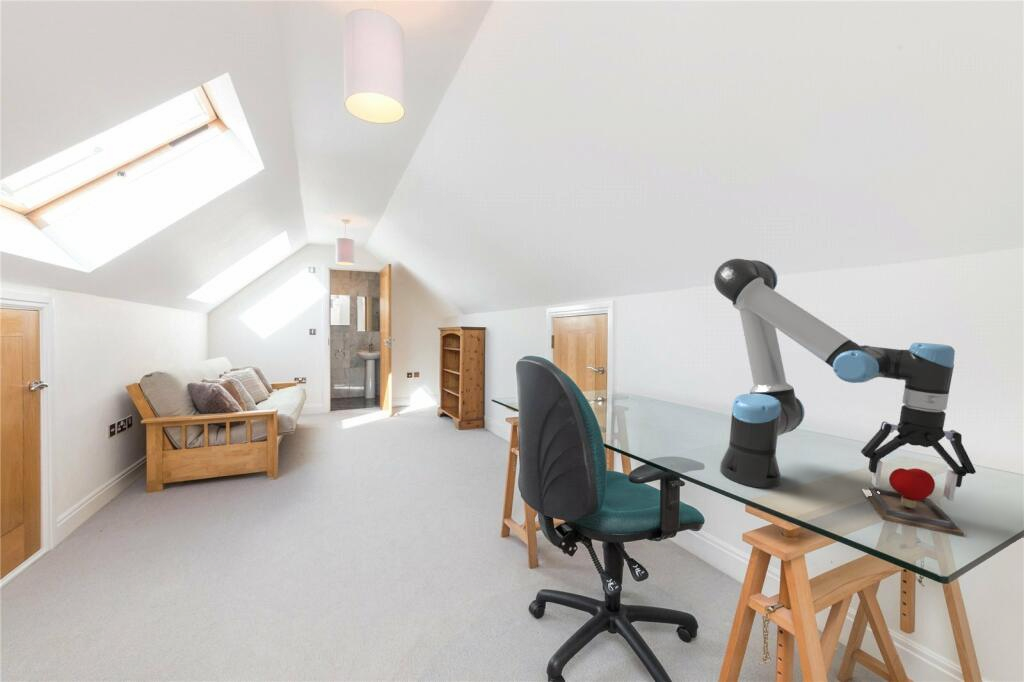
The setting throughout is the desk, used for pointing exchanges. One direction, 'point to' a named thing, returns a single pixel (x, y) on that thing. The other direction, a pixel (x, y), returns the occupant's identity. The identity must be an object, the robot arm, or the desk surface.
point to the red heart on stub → (912, 485)
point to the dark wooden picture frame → (911, 512)
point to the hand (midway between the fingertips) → (910, 491)
